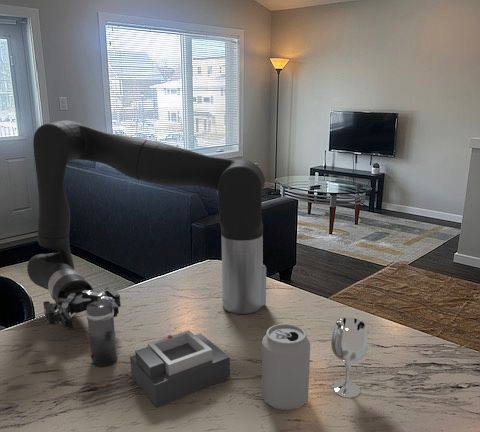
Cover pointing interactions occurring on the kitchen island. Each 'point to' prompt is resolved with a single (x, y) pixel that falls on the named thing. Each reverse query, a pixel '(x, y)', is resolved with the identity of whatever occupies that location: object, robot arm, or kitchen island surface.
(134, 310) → the kitchen island surface
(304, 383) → the can
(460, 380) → the kitchen island surface
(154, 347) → the tray on grey base
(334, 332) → the wineglass
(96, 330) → the thermos
